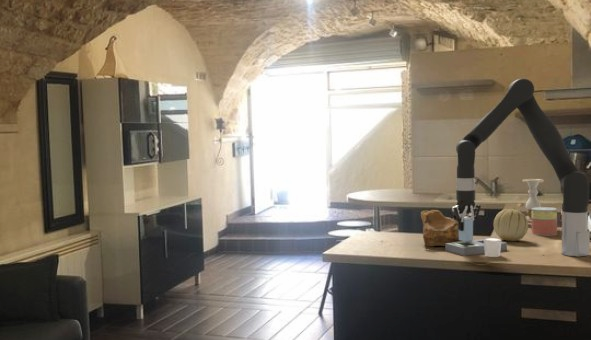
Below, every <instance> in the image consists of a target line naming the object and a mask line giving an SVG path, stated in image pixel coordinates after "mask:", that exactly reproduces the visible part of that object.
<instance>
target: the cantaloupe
mask: <svg viewBox="0 0 591 340" xmlns="http://www.w3.org/2000/svg"><path fill="white" fill-rule="evenodd" d="M526 216H527V215H525V214H524V213H523V212H522V211H520V210H517V209H516V208H515V207H512V208H505V209H502V210H501V211H499V212H497V214H496V216H495V218H494V219H493V230H494V233H495V234H496V235H497V237H499V239H501V240H504V241H506V242H516V241H519V240H521V239H523V238H524V237H525V236H526V234H527V233H528V230H529V227H528V220H527V218H526Z"/></svg>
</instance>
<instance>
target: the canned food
mask: <svg viewBox="0 0 591 340" xmlns="http://www.w3.org/2000/svg"><path fill="white" fill-rule="evenodd" d="M531 209H532V228H531V235H536V236H541V237H542V236H544V237H547V236H548V237H550V236H552V237H553V236H557V235H558V231H557V230H558V227H557V226H558V216H557V215H558V211H557V210H558V209H557V208H555V207H549V206H546V207H545V206H541V207H534V208H531Z"/></svg>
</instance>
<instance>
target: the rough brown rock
mask: <svg viewBox="0 0 591 340" xmlns="http://www.w3.org/2000/svg"><path fill="white" fill-rule="evenodd" d="M466 216H467V215H466ZM466 216H465V217H466ZM420 218H421V220H422V238H423V242H424V244H423V245H424V247H430V248H431V247H432V248H433V247H435V246H436V247H437V246H442V247H445V243H452V242H460V241H461V240H459V229H458V221H456V220H454V218H453V217H452V218H451V217H448V216H445V215H444V214H443V213H442V212H441V211H440V210H437V209H431V210H427V209H426V210H422V211H421V212H420Z"/></svg>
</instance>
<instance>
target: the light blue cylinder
mask: <svg viewBox="0 0 591 340" xmlns="http://www.w3.org/2000/svg"><path fill="white" fill-rule="evenodd" d="M463 222H464V231H460V230H459V240H461V241H473V240H474V221H473V219H471V217H468V216H467V215H466V217H464V221H463Z"/></svg>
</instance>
